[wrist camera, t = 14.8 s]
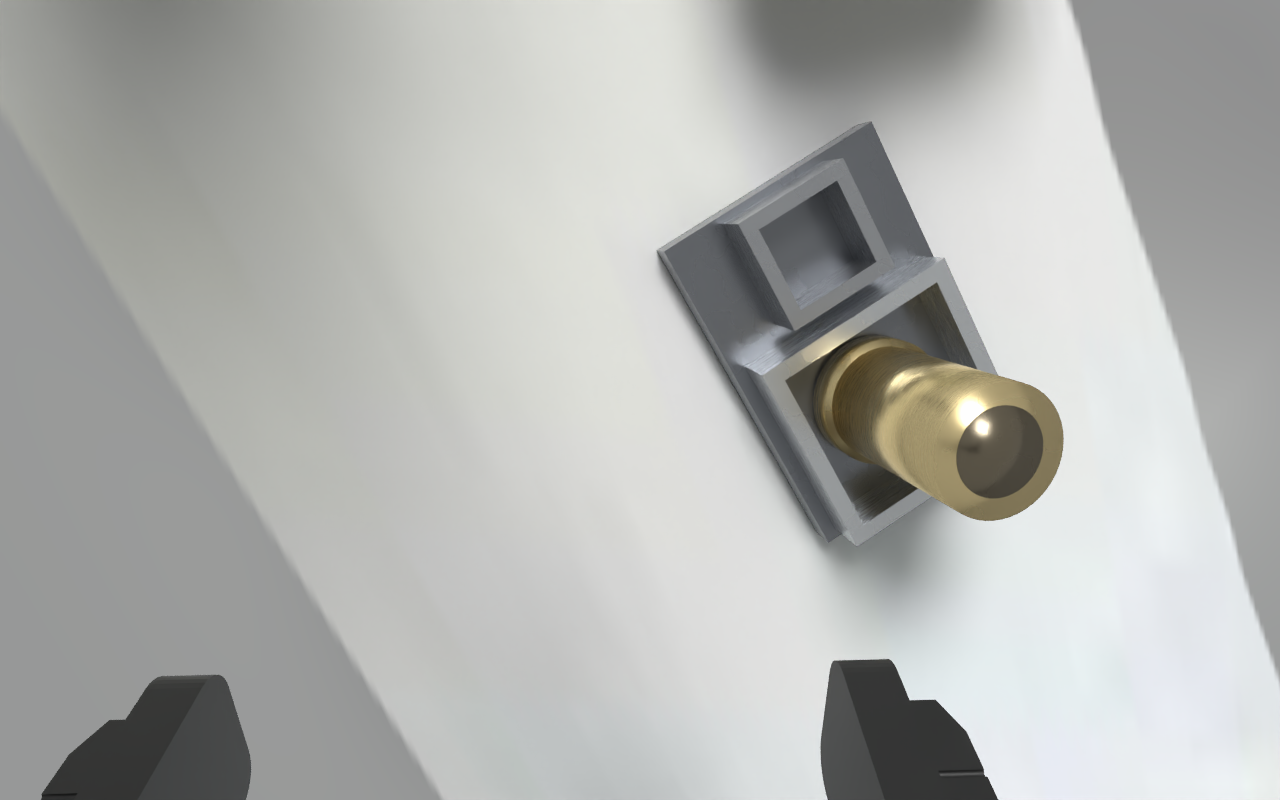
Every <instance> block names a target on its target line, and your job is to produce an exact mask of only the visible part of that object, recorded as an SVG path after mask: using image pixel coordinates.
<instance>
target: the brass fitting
mask: <svg viewBox="0 0 1280 800" xmlns="http://www.w3.org/2000/svg"><path fill="white" fill-rule="evenodd" d="M813 404H814V414H815V418H816V422H817V424H818V427H819V429H820V431H821V432H822V434H823V436H824V437H825V438H826V439H827V441H828V442H829V443H831V444H832V445H833V446H834V447H835V448H837V449H838V450H840V451H842V452H843V453H845V454H847V455H848V456H850V457H852V458H853V459H856V460H858V461H860V462H864V463H868V464H877V465H879V466H881V467H883V468H884V469H886V470H888V471H889V472H891V473H893V474H895V475H896V476H898V477H900V478H901V479H903V480H905V481H906V482H908V483H910V484H912V485H913V486H915V487H917V488H918V489H920V490H922V491H924V492H925V493H927V494H929V495H930V496H932V497H934V498H935V499H937V500H939V501H941V502H942V503H944V504H946V505H947V506H949V507H951V508H953V509H954V510H956V511H958V512H959V513H961V514H963V515H965V516H967V517H970V518H973V519H977V520H984V521H994V520H1000V519H1004V518H1008V517H1011V516H1013V515H1015V514H1018V513H1020V512H1021V511H1023V510H1025V509H1026V508H1028V507H1029V506H1030V505H1032V504H1033V503H1034V502H1035V501H1036V500H1037V499H1038V498H1039V497H1040V496H1041V495H1042V494H1043V493H1044V492H1045V490H1046V489H1047V488H1048V486H1049V485H1050V483H1051V482H1052V480H1053V478H1054V476H1055V474H1056V472H1057V469H1058V467H1059V464H1060V460H1061V457H1062V451H1063V429H1062V424H1061V420H1060V417H1059V414H1058V412H1057V410H1056V408H1055V406H1054V405H1053V404H1052V402H1051V401H1050V399H1049V398H1048V397H1047V396H1046V395H1045V394H1044V393H1042V392H1041V391H1039V390H1038V389H1036V388H1035V387H1033V386H1031V385H1028V384H1025V383H1022V382H1018V381H1015V380H1011V379H1008V378H1005V377H1001V376H998V375H994V374H991V373H987V372H984V371H980V370H977V369H974V368H970V367H967V366H963V365H960V364H956V363H953V362H950V361H946V360H943V359H939V358H936V357H932V356H929V355H927V354H926V353H925V352H924V351H923V350H922V349H920V348H919V347H918V346H916V345H914V344H912V343H909V342H906V341H903V340H900V339H896V338H892V337H888V336H883V335H872V336H865V337H861V338H858V339H856V340H853V341H851V342H849V343H847V344H846V345H844V346H843V347H841V348H840V349H839V350H838V351H836V352H835V353H834V354H833V355H832V356H831V358H830V359H829V360H828V361H827V363H826V364H825V366H824V367H823V369H822V371H821V373H820V375H819V377H818V380H817V383H816V386H815V391H814V399H813Z"/></svg>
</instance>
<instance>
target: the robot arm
mask: <svg viewBox="0 0 1280 800" xmlns="http://www.w3.org/2000/svg"><path fill="white" fill-rule="evenodd" d="M821 766H822V774H823V781H824V786H825V790H826V795H827V798H828V800H998V799H997V796H996V794H995V792H994V790H993V788H992V786H991V784H990V781H989V779H988V777H985V775H984V769H983V766H982V764H981V762H980V760H979V758H978V756H977V754H976V751H975V749H974V747H973V745H972V743H971V741H970V739H969V736H968V734H967V732H966V731H965V730H964V729H963V728H962V727H961V726H960V725H959V724H958V723H957V722H956V721H955V720H954V719H953V717H952V716H951V715H950V714H949V713H948V712H947V711H946V710H945V709H944V708H943V707H942V706H941V705H940V704H939V703H938V702H937V701H936V700H911V701H909V698H908V696H907V693H906V691H905V688H904V686H903V683H902V681H901V678H900V676H899V674H898V671H897V669H896V667H895V665H894V664H893V662H892V661H891V660H889V659H881V660H843V661H833V663H832V665H831V668H830V674H829V682H828V689H827V697H826V705H825V712H824V720H823V728H822V736H821ZM250 775H251V760H250V754H249V750H248V747H247V744H246V741H245V737H244V734H243V731H242V728H241V725H240V722H239V718H238V715H237V712H236V709H235V706H234V702H233V699H232V696H231V693H230V690H229V686H228V684H227V682H226V680H225V679H224V678H223V677H222V676H220V675H195V676H161V677H158V678H156V679H155V680H153V681H152V682H151V683H150V684H149V685H148V687H147V688H146V689H145V691H144V692H143V694H142V696H141V697H140V699H139V700H138V702H137V703H136V705H135V706H134V708H133V709H132V711H131V712H130V714H129V715H128V717H127V718H126V720H109V721H108V722H107V723H106V724H104V725H103V726H102V727H101V728H100V729H99V730H97V731H96V732H95V733H94V734H93V735H92V736H90V737H89V738H88V739H87V740H86V741H85V742H83V743H82V744H81V745H80V746H79V747H77V748H76V749H75V750H74V751H73V752H72V753H70V754H69V756H68V757H67V758H66V760H65V761H64V763H63V764H62V766H61V767H60V769H59V770H58V771H57V773H56V775H55V776H54V777H53V779H52V780H51V781H50V783H49V785H48V786H47V787H46V789H45V790H44V791H43V793H42V799H41V800H246V797H247V793H248V789H249V784H250Z"/></svg>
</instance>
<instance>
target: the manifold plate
mask: <svg viewBox="0 0 1280 800" xmlns="http://www.w3.org/2000/svg"><path fill="white" fill-rule="evenodd" d="M657 251H658V253H659V255H660V257H661V259H662V260H663V262H664V264H665V266H666V267H667V269H668V271H669V273H670V274H671V276H672V278H673V280H674V281H675V283H676V285H677V287H678V288H679V290H680V292H681V294H682V295H683V297H684V299H685V301H686V302H687V304H688V306H689V308H690V310H691V311H692V313H693V315H694V317H695V318H696V320H697V322H698V324H699V325H700V327H701V329H702V331H703V332H704V334H705V336H706V338H707V339H708V341H709V343H710V345H711V346H712V348H713V350H714V352H715V354H716V355H717V357H718V359H719V361H720V362H721V364H722V366H723V368H724V369H725V371H726V373H727V375H728V376H729V378H730V380H731V382H732V383H733V385H734V387H735V389H736V390H737V392H738V394H739V396H740V398H741V399H742V401H743V403H744V405H745V406H746V408H747V410H748V412H749V413H750V415H751V417H752V419H753V420H754V422H755V424H756V426H757V427H758V429H759V431H760V433H761V434H762V436H763V438H764V440H765V442H766V443H767V445H768V447H769V449H770V450H771V452H772V454H773V456H774V457H775V459H776V461H777V463H778V464H779V466H780V468H781V470H782V471H783V473H784V475H785V477H786V478H787V480H788V482H789V484H790V486H791V487H792V489H793V491H794V493H795V494H796V496H797V498H798V500H799V501H800V503H801V505H802V507H803V508H804V510H805V512H806V514H807V515H808V517H809V519H810V521H811V522H812V524H813V526H814V528H815V530H816V531H817V533H818V534H819V535H820V536H822V537H823V538H824V539H825V540H826V541H827V542H830V541H831V540H833V539H834V538H836V537H837V536H839V535H840V534H842V535H843V536H845V537H846V538H847V539H848V540H849V541H851V542H852V543H853V544H854V545H856V546H859V545H860V544H862V543H863V542H865V541H866V540H868V539H869V538H871V537H872V536H874V535H875V534H877V533H878V532H880V531H881V530H883V529H884V528H886V527H887V526H889V525H890V524H892V523H893V522H895V521H896V520H898V519H899V518H901V517H902V516H904V515H905V514H907V513H908V512H910V511H911V510H913V509H914V508H916V507H917V506H919V505H920V504H922V503H923V502H925V501H926V500H928V499H929V498H931V497H932V496H930V495H929V494H927V493H925V492H924V491H922V490H920V489H918V488H917V487H915V486H913V485H912V484H910V483H908V482H906V481H905V480H903V479H901V478H900V477H898V476H896V475H895V474H893V473H891V472H889V471H888V470H886V469H884V468H883V467H881V466H879V465H877V464H868V463H864V462H860V461H858V460H856V459H853V458H852V457H850V456H848V455H847V454H845V453H843V452H842V451H840V450H838V449H837V448H835V447H834V446H833V445H832V444H831V443H829V442H828V441H827V439H826V438H825V437H824V436H823V434H822V432H821V431H820V429H819V427H818V424H817V422H816V418H815V414H814V404H813V399H814V391H815V386H816V383H817V380H818V377H819V375H820V373H821V371H822V369H823V367H824V366H825V364H826V363H827V361H828V360H829V359H830V358H831V356H832V355H833V354H834V353H835V352H836V351H838V350H839V349H840V348H841V347H843V346H844V345H846V344H847V343H849V342H851V341H853V340H856V339H858V338H861V337H865V336H872V335H883V336H888V337H892V338H896V339H900V340H903V341H906V342H909V343H912V344H914V345H916V346H918V347H919V348H920V349H922V350H923V351H924V352H925V353H926V354H927V355H929V356H932V357H936V358H939V359H943V360H946V361H950V362H953V363H956V364H960V365H963V366H967V367H970V368H974V369H977V370H980V371H984V372H987V373H991V374H994V375H998V374H997V372H996V370H995V368H994V366H993V363H992V361H991V359H990V357H989V355H988V353H987V350H986V348H985V346H984V344H983V342H982V339H981V337H980V335H979V333H978V331H977V328H976V326H975V324H974V322H973V320H972V317H971V315H970V313H969V311H968V309H967V306H966V304H965V302H964V300H963V298H962V296H961V293H960V291H959V289H958V287H957V285H956V282H955V280H954V278H953V276H952V274H951V271H950V269H949V267H948V265H947V263H946V260H945V258H938V257H933V255H932V252H931V250H930V248H929V246H928V244H927V242H926V239H925V237H924V235H923V233H922V231H921V229H920V226H919V224H918V222H917V220H916V218H915V216H914V213H913V211H912V209H911V207H910V205H909V202H908V200H907V198H906V196H905V194H904V192H903V189H902V187H901V185H900V183H899V181H898V179H897V176H896V174H895V172H894V170H893V168H892V166H891V163H890V161H889V159H888V157H887V155H886V153H885V150H884V148H883V146H882V144H881V142H880V139H879V137H878V135H877V133H876V131H875V129H874V126H873V124H872V122H867V123H863V124H859V125H857V126H855V127H853V128H852V129H850V130H849V131H847V132H845V133H844V134H842V135H841V136H839V137H837V138H836V139H834V140H833V141H831V142H829V143H828V144H826V145H825V146H823V147H821V148H820V149H818V150H817V151H815V152H813V153H812V154H810V155H809V156H807V157H805V158H804V159H802V160H801V161H799V162H797V163H796V164H794V165H793V166H791V167H789V168H788V169H786V170H785V171H783V172H781V173H780V174H778V175H777V176H775V177H773V178H772V179H770V180H769V181H767V182H765V183H764V184H762V185H761V186H759V187H757V188H756V189H754V190H753V191H751V192H749V193H748V194H746V195H745V196H743V197H741V198H740V199H738V200H737V201H735V202H733V203H732V204H730V205H729V206H727V207H725V208H724V209H722V210H721V211H719V212H717V213H716V214H714V215H713V216H711V217H709V218H708V219H706V220H705V221H703V222H701V223H700V224H698V225H697V226H695V227H694V228H692V229H690V230H689V231H687V232H686V233H684V234H682V235H681V236H679V237H678V238H676V239H674V240H673V241H671V242H670V243H668V244H666V245H665V246H663V247H662V248H660V249H658V250H657Z"/></svg>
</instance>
